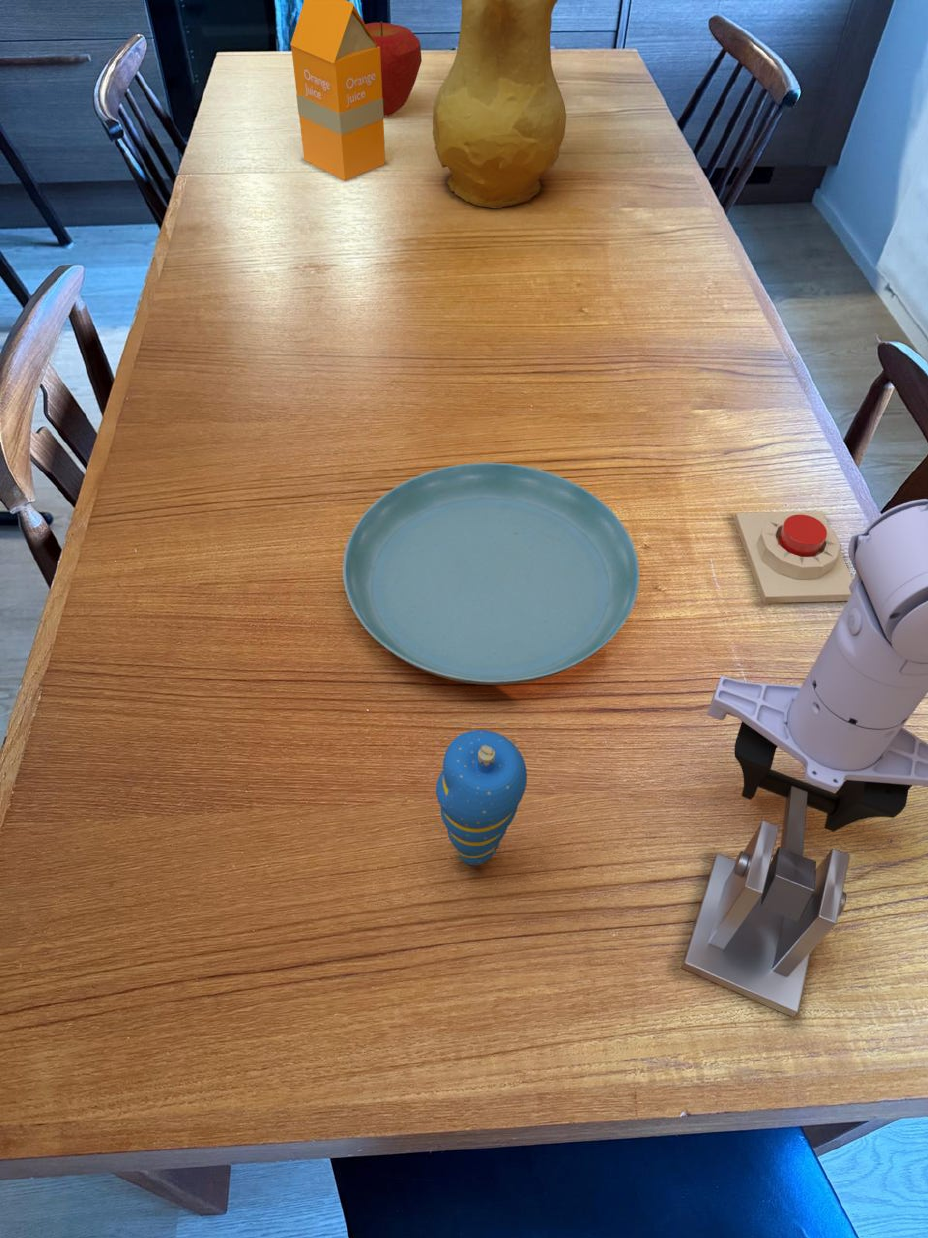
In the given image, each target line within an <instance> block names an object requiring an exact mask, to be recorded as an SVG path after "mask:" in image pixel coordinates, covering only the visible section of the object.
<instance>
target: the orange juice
mask: <svg viewBox="0 0 928 1238" xmlns="http://www.w3.org/2000/svg"><path fill="white" fill-rule="evenodd" d="M365 24H366V23H365V21H364V20H363V18H362V16H361V14H360V13H359V11H358V10H357V8H356V7H355V3H354V2H351V1H349V0H303V3H302V6H301V9H300V12H299V15H298V19H297V22H296V25H295V29H294V32H293V35H292V38H291V41H290V44H289V45H290V49H291V57H292V66H293V74H294V76H293V77H294V84H295V93H296V94H295V96H296V104H297V113H298V114H297V115H298V117H299V127H300V135H301V145H302V151H303V152H302V153H303V161H305V162H307V163H309V164H311V165H312V166H315V167H317V168H318V169H320V170H322V171H324V172H327V173H328V174H331V175H332V176H334V177H336V178H338V179H340V180H342V181H344V182H346V181H348V180H351V179H353V178H356V177H359V176H360V175H363V174H365V173H367V172H370V171H372V170H374V169H375V170H376V169H377V168H379V167H382V166H384V165H386V147H385V128H384V127H385V126H384V119H385V118H384V117H385V116H384V115H383V98H382V82H381V61H380V47H379V46H378V45H377V43H376V42H375V40H374V38H373V37H372V35H371V33H370V32H369V30H368V28H367V27H366V25H365Z"/></svg>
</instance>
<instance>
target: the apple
mask: <svg viewBox="0 0 928 1238" xmlns="http://www.w3.org/2000/svg"><path fill="white" fill-rule="evenodd" d="M365 25H366V27H367V28H368V30H369V32H370V33H371V35H372V37H373V38H374V40H375V42H376V43H377V45H378V46H379V47H380V61H381V82H382V98H383V115H384V117H389V116H393V115H394V114H396V112H398V111H399V110H400V109H401V108H403V107H404V106H405V105H406V103H407V102H408V99H409V97H410V95H411V93H412V90H413V88H414V86H415V83H416V81H417V77H418V74H419V71H420V67H421V66H422V65H421V64H422V62H423V61H422V46H421V42H420V39H419V38H418V37H417V36H416V35H415V33H413V31H412V30H410V28H407V27H405V26H402V25H399V24H393V23H388V22H383V20H381V21H380V22H371V23H365Z"/></svg>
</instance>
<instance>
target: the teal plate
mask: <svg viewBox="0 0 928 1238" xmlns="http://www.w3.org/2000/svg"><path fill="white" fill-rule="evenodd" d="M347 540H348V541H347V543H346V546H345V550H344V553H343V560H342V561H343V562H342V579H343V586H344V590H345V594H346V596H347V597H346V598H347V599H348V602H349V605H350V607H351V609H352V611H353V613H354V614H355V616H356V618H357V619H358V621H359V622H360V623H361V625H362V627H364V630H366V631H367V632H368V633H369V634H370V635H371V637H372V638H373V639H374V640H375V641H377V642H378V644H380V645H381V646H382V647H383V648H384V649H386V650H387V651H388V652H389V653H391V654H392V655H394V656H395V657H396V658H398V659H399V660H401V661H403V662H405V663H407V664H408V665H409V666H413V667H414V668H416V669H419V670H420V671H423V672H425V673H428V674H431V675H433V676H436V677H439V678H443V679H446V680H451V681H454V682H458V683H459V682H460V683H466V684H472V685H481V686H483V685H484V686H500V685H501V686H503V685H515V684H516V685H517V684H525V683H530V682H534V681H537V680H538V681H539V680H544V679H546V678H549V677H552V676H555V675H558V674H560V673H563V672H565V671H567V670H570V669H571V668H572V669H573V667H577V665H579V664H582V663H583V662H585V661H586V660H588V659H589V658H591V657H592V656H593V655H596V654H597V653H599V651H600V650H601V649H603V648H604V647H605V646H606V645H607V644H608V643H609V642H611V640H612V639H613V638H614V637H615V636H616V635H617V634H618V633H619V632H620V631H621V630H622V627H623V626H624V624H626V622H627V620H628V618H629V616H630V615H631V613H632V611H633V609H634V606H635V604H636V600H637V598H638V593H639V586H640V565H639V559H638V558H639V557H638V554H637V551H636V548H635V544H634V542H633V540H632V538H631V536H630V534H629V532H628V531H627V529H626V527H625V525H624V524H623V523H622V521H621V520H620V519H619V518H618V516H617V515H616V514H615V513H614V511H613V510H612V509H611V508H610V507H609V506H608V505H607V504H606V503H604V502H603V501H602V500H601V499H599V497H597V496H595V495H594V494H593V493H591V492H590V491H589V490H586V489H585V488H584V487H581V486H580V485H578V484H577V483H574V482H572V481H570V480H569V479H566V478H564V477H562V476H560V475H557V474H554V473H551V472H548V471H546V470H542V469H539V468H534V467H531V466H530V467H529V466H525V465H519V464H513V463H505V462H504V463H503V462H473V463H464V464H456V465H450V466H445V467H441V468H437V469H434V470H430V471H427V472H424V473H421V474H419V475H417V476H414V477H412V478H410V479H408V480H405V481H404V482H401V483H400V484H398V485H397V486H395V487H393V488H391V490H389V491H388V492H387V491H386V493H385V494H383V495H381V497H379V498H378V499H377V500H376V501H374V502H373V503H372V505H370V507H369V508H368V509H367V510H366V511H365V512H364V513H363V514H362V516H361V517H360V518H359V520H358V521H357V523H356V524H355V526H354V527H353V529H352V531H351V534H350V535H349V538H348V539H347Z"/></svg>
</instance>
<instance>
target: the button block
mask: <svg viewBox="0 0 928 1238" xmlns="http://www.w3.org/2000/svg"><path fill="white" fill-rule="evenodd" d="M798 514H802V515H808V516H811V517H814V518H816V519H817V520H819V521H820V522H821V523H822V524H823V525H824V526H825V528H826V530H827V537H826V539H825V541H824V543H823V545H822V547H821V549H820V551H819V552H818V553H817V554H816V555H813V556H810V557H800V556H797V555H794V554H792V553H789V552H787V551H786V550H785V549H784V548H783V547H782V546H781V545H780V543H779V534H780V531H781V529H782V526H783V524H784V522H785V520H786V519H787V518H788V517H790V516H793V515H798ZM733 522H734V525H735V527H736V531H737V533H738V537H739V540H740V543H741V545H742V548H743V551H744V553H745V556H746V560H747V563H748V566H749V568H750V572H751V574H752V577H753V580H754V583H755V586H756V588H757V591H758V594H759V597H760V601H761V602H762V604H786V603H787V604H788V603H818V602H819V603H821V602H822V603H823V602H848V600H849V598H850V596H851V594H852V593H851V592H850V589H849V586H850V584H851V582H852V580H853V579H854V578H853V577H852V575H851V573H850V571H849V568H848V565H847V563H846V561H845V560H844V557H843V554H842V553H841V547H842V544H841V543H840V540H839V537H838V536H837V535H838V534H837V533H836V532H835V530H834V529H833V528H831V527H830V525H829V523H828V521H827V518H826V516H825V513H824V511H823V510H812V511H811V510H809V511H772V512H771V511H769V512H763V511H762V512H735V515H734V518H733Z"/></svg>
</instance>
